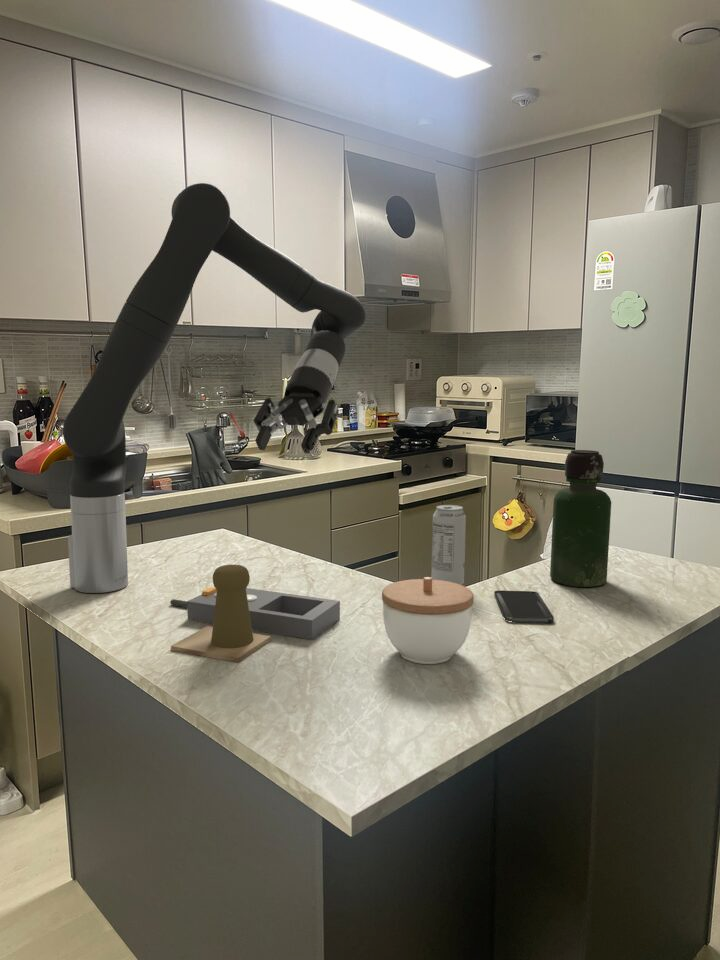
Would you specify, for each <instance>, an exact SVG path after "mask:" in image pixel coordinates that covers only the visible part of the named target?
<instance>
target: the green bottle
mask: <svg viewBox="0 0 720 960" xmlns="http://www.w3.org/2000/svg"><path fill="white" fill-rule="evenodd" d="M566 455H567V456H566V458H565V461H564V462H565V463H564V476H565V477H566V478H565V481H566V482H568V483H569V487H566V488H562V489H560V490H559V491H558V492H556V494H555V495H554V498H553V503H552V504H553V506H552V507H553V508H552V509H553V510H552V523H551V524H552V527H551V528H552V529H551V549H550V551H551V552H550V565H549V566H550V569H549V577H550V578H551V579H552V580H553V581H554V582H555V583H559V584H561V585H565V586H569V587H575V588H576V587H577V588H593V587H600V586H602V585H605V584H606V583H607V581H608V563H609V549H610V533H611V515H612V514H611V513H612V500H611V497H610V496H609V495H608V494H607V492H605V491H604V490H602V489H598V488H597V486H598V484H600V483H601V481H602V478H603V476H604V475H603V473H604V468H605V467H604V466H605V463H604V458H603V455H602V454H600V451H598V450H587V449H575V450H574V449H572V450H570V452H569V453H568V454H566Z"/></svg>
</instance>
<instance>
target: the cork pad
mask: <svg viewBox="0 0 720 960" xmlns="http://www.w3.org/2000/svg"><path fill="white" fill-rule="evenodd" d="M212 630H213V625H212V626H211V625H206V626H205V627H202V628H201V629H198V631H195V632H194V633H192V634H190V635H188V636H186V637H184V638H183V639H181V640H179V641H178V642H176V643H174V644H172V645H171V646H170V650H171V651H175V652H180V653H186V654H191V655H195V656H201V657H207V658H213V659H218V660H224V661H229V662H234V663H239V662H241V661H242V660H244V659H245V658H247V657H248V656H250V655H251V654H252V653H254V652H255V651H257V650H258V649H260V648H262V647H263V646H264V645H266V644H268V643H269V642H270V641H272V636H271V635H266V634H261V633H254V632H252V633H253V639H254V640H253V642H252V643H250V644H249V645H246V646H243V647H239V648H220V647H216V646H214V645H213V644H212V643H211V639H212Z"/></svg>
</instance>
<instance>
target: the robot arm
mask: <svg viewBox="0 0 720 960" xmlns="http://www.w3.org/2000/svg"><path fill="white" fill-rule="evenodd" d="M212 252H214V253H215V254H218V255H219V256H221V257H223V258H224V259H226V260H228V262H231V263H232V264H234V265H235V266H237V267H238V268H240V269H241V270H243V271H244V272H246V274H248V275H249V276H251V277H252V278H253V279H254V280H256V282H259V283H260V284H261V285H262V286H263V287H265V289H268V290H269V292H271V293H273V294H274V295H275V296H276V297H278V298H279V299H281V300H282V301H284V302H285V303H286V304H288V305H289V306H290V307H292V308H293V309H294V310H296V311H298V312H300V313H308V312H310V311H313V310H319V312H318V313H317V315H316V316H315V318H314V320H313V322H312V324H311V330H310V336H309V338H310V339H309V341H308V344H307V346H306V348H305V350H304V352H303V353H302V355H301V357H300V358H299V360H298V361H297V363H296V366H295V367H294V370H293V372H292V375H291V377H289V379H288V382H287V385H286V387H285V389H284V396H283V397H282V398H281V399H280V400H279V401H273V400H272V398H271V397H267V398H265V399H264V401H263V403H262V405H261V406H260V408H259V410H258V412H257V413H256V415H255V417H254V418H253V423H254V425H255V427H256V428H257V430H258V433H257V435H256V438H255V440H254V441H255V443H256V446H257V447H258V450H259V451H266V448H267V446H268V444H269V442H270V440H271V437H272V434H274V432H276V431H278V430H283V429H284V428H286V427H287V426H296V425H297V426H303V427H304V426H305V425H309V427H310V428H307V430H306V433H305V434H304V437H303V439H302V442H301V449H302V451H303V453H304V454H310V452H311V451H312V450H314V448H315V446H316V443H317V441H318V438H319V437H321V435H323V434H324V435H326V436H330V435H331V434H332V433H333V430H334V427H335V424H336V421H337V418H338V416H339V415H338V414H339V411H340V410H339V408H338V405H337V403H336V400H335V399H329V396H330V394H331V391H332V389H333V386H334V384H335V382H336V379H337V375H338V370H339V369H340V367H341V364H342V361H343V359H344V357H345V353H346V343H345V341H344V340H345V339H347V337H349V336H350V335H352V334H353V333H354V332H356V331H358V329H360V328H361V327H362V326H363V325H364V323H365V321H366V317H367V315H366V314H367V313H366V310H365V307H364V306H363V304H362V302H361V301H360V300H359V299H358V298H357V296H355V295H353V294H352V293H350V292H348V291H346V290H344V289H342V288H339V287H337V286H335V285H333V284H330V283H328V282H325V281H323V280H320V279H319V278H317V277H316V276H315V275H314V274H312V273H311V272H310V271H308V270H307V269H306V268H304V267H303V266H301V264H299V263H298V262H296V261H295V260H293V258H291V257H289V256H288V255H286V254H284V253H283V252H281V251H279V250H277V249H276V248H274V247H272V246H271V245H268V244H267V243H265V242H264V241H261V240H260V239H259V238H257V237H256V236H255V235H253V234H252V233H250V232H248V231H247V230H246V229H245V228H244V227H242V226H241V224H239V223H238V222H237V221H236V220H235V219H234V218H233V217H232V216H231V209H230V202H229V200H228V198H227V197H226V195H225V193H224V192H223V191H222V190H221V188H219V187H217V186H216V185H213V184H211V183H206V182H199V183H194V184H191V185H189V186H187V187H186V188H184V189H182V190H181V192H179V193H178V195H176V197H175V198H174V200H173V202H172V205H171V221H170V224H169V226H168V229H167V232H166V235H165V237H164V239H163V241H162V244H161V246H160V248H159V249H158V252H157V253H156V255H155V256H154V258H153V260H152V261H151V262H150V263H149V264H148V266H147V268H146V269H145V270H144V271H143V273H142V275H141V276H140V277H139V278H138V280H137V282H136V284H135V285H134V286H133V288H132V290H131V291H130V292H129V295H128V296H127V298H126V301H125V302H124V303H123V306H122V308H121V310H120V312H119V314H118V316H117V318H116V320H115V323H114V325H113V328H112V330H111V332H110V334H109V336H108V337H107V338H108V339H107V341H106V343H105V346H104V348H103V350H102V352H101V355H100V358H99V360H98V362H97V365H96V368H95V370H94V372H93V374H92V376H91V377H90V379H89V381H88V382H87V384H86V386H85V388H84V389H83V391H82V392H81V394H80V395H79V397H78V398H77V400H76V402H75V404H73V406H72V408H71V409H70V411H68V414H67V415H66V417H65V419H64V421H63V426H62V437H63V440H64V443H65V445H66V446H67V448H68V450H69V451H70V452H71V453H72V471H71V476H70V479H69V497H70V498H69V500H70V501H69V502H70V517H71V519H70V521H71V534H70V535H68V537H67V542H68V543H67V545H68V549H67V550H68V565H69V583H70V584H69V585H70V586H69V587H70V588H73V589H75V591H77V592H81V593H85V594H102V593H110V592H114V591H118V590H122V589H124V588H126V587H127V586H128V585H129V571H128V567H129V566H128V545H127V543H128V541H127V540H128V539H127V519H126V495H125V491H126V490H125V481H126V475H127V449H126V446H127V445H126V444H127V443H126V428H125V423H124V420H123V419H124V417H125V414H126V412H127V409H128V406H129V405H130V402H131V400H132V397H133V396H134V395H135V392H136V391H137V389H138V387H140V384H141V383H142V382H143V381H144V380H145V379H146V377H147V376H148V374H149V373H150V372H151V370H152V369H153V368H154V367H155V365H156V363H157V362H158V360H159V359H160V357H161V356H162V354H163V353H164V351H165V349H166V347H167V346H168V344H169V342H170V340H171V338H172V336H173V334H174V332H175V330H176V327H177V326H178V323H179V321H180V319H181V317H182V315H183V312H184V310H185V308H186V305H187V303H188V302H189V301H188V300H189V298H190V296H191V293H192V290H193V287H194V285H195V282H196V280H197V277H198V275H199V273H200V271H201V269H202V268H203V266H204V264H205V262H206V261H207V259H208V257H209V256H210V254H211V253H212ZM328 399H329V401H328ZM327 401H328V402H327ZM322 413H324V414H323V416H322V418H321V421H320V423H317V421H316V418H317V417H319V416H320V415H321V414H322ZM280 416H281V417H282V420H280ZM271 424H272V425H271Z"/></svg>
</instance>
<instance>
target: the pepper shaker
mask: <svg viewBox="0 0 720 960" xmlns="http://www.w3.org/2000/svg"><path fill="white" fill-rule="evenodd" d="M213 571H214V572H212V573H213V574H212V584H213V586H214V587H213V588H216V589H217V594H216V603H215V612H214V621H213V624H212V626H213V630H212V639H211V643H212V644H213V645H214V646H216V647H220V648H239V647H243V646H246V645H249V644H250V643H252V642H253V640H254V639H253V633H254V632H253V630H252V626H251V620H250V613H249V607H248V600H247V593H246V588H248V586H249V584H250V581H251V579H250V578H251V577H250V572H249V570H248V569H247V567H246V566H244V565H240V564H226V565H224V564H223V565H220V566H218V567H217V568H215V569H214V570H213Z"/></svg>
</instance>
